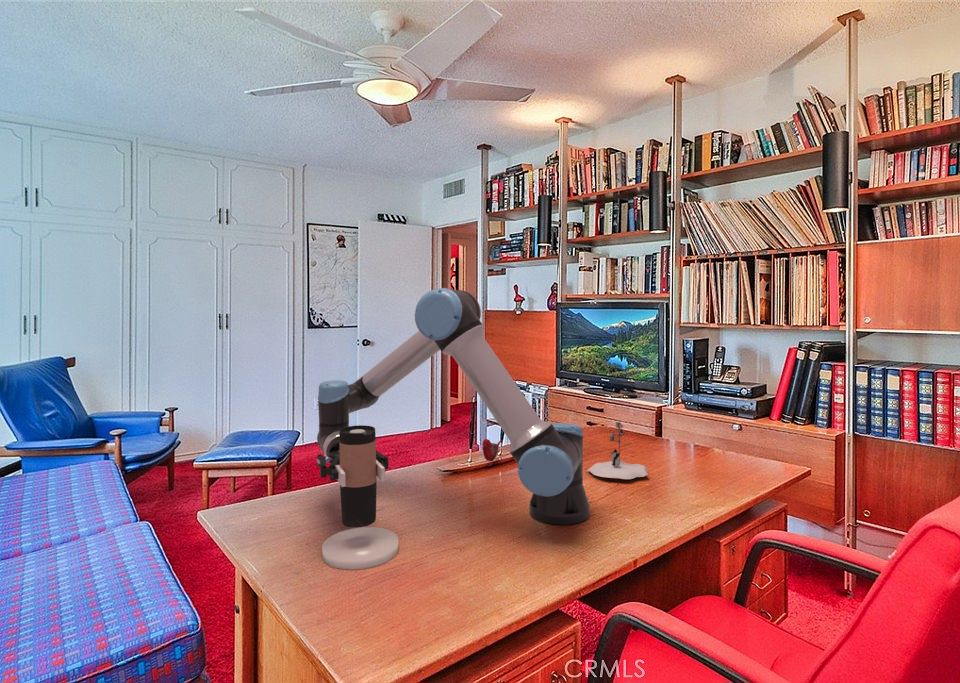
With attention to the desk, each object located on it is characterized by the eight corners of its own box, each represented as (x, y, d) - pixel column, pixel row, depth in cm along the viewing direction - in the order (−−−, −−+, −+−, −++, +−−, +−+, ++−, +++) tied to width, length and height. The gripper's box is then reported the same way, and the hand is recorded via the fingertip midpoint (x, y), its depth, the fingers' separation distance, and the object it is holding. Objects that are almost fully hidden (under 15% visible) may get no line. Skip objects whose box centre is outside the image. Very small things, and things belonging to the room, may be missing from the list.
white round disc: (413, 544, 117) (413, 535, 117) (364, 576, 103) (363, 566, 103) (358, 530, 125) (358, 522, 125) (305, 558, 111) (305, 549, 111)
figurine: (641, 485, 152) (642, 428, 153) (580, 476, 161) (581, 423, 162) (656, 473, 170) (656, 422, 170) (600, 466, 179) (601, 417, 179)
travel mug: (344, 514, 117) (342, 425, 116) (379, 513, 118) (377, 424, 117) (337, 529, 110) (335, 433, 108) (375, 527, 110) (373, 433, 109)
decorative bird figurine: (479, 471, 170) (478, 440, 169) (497, 456, 186) (497, 428, 185) (487, 472, 169) (487, 441, 168) (505, 457, 185) (505, 429, 184)
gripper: (382, 460, 134) (411, 487, 113) (298, 471, 125) (312, 503, 104) (382, 430, 133) (410, 453, 113) (297, 439, 124) (311, 465, 104)
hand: (363, 477), depth 109 cm, fingers closed on travel mug, 7 cm apart
